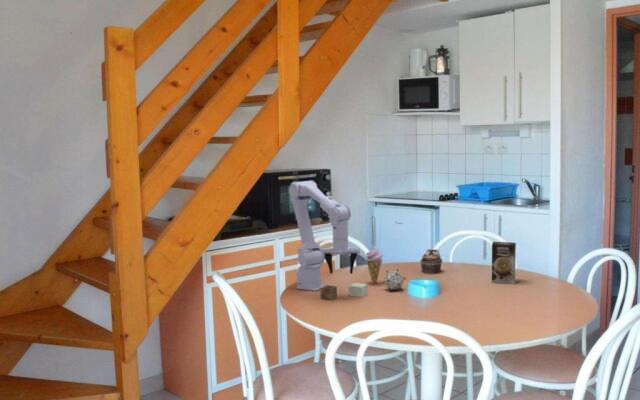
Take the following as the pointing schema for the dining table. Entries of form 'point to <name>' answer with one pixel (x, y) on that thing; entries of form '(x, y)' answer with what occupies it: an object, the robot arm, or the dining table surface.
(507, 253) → the coffee box
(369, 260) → the ice cream cone
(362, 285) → the base block
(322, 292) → the walnut cube
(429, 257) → the cupcake
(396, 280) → the game die
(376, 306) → the dining table surface
